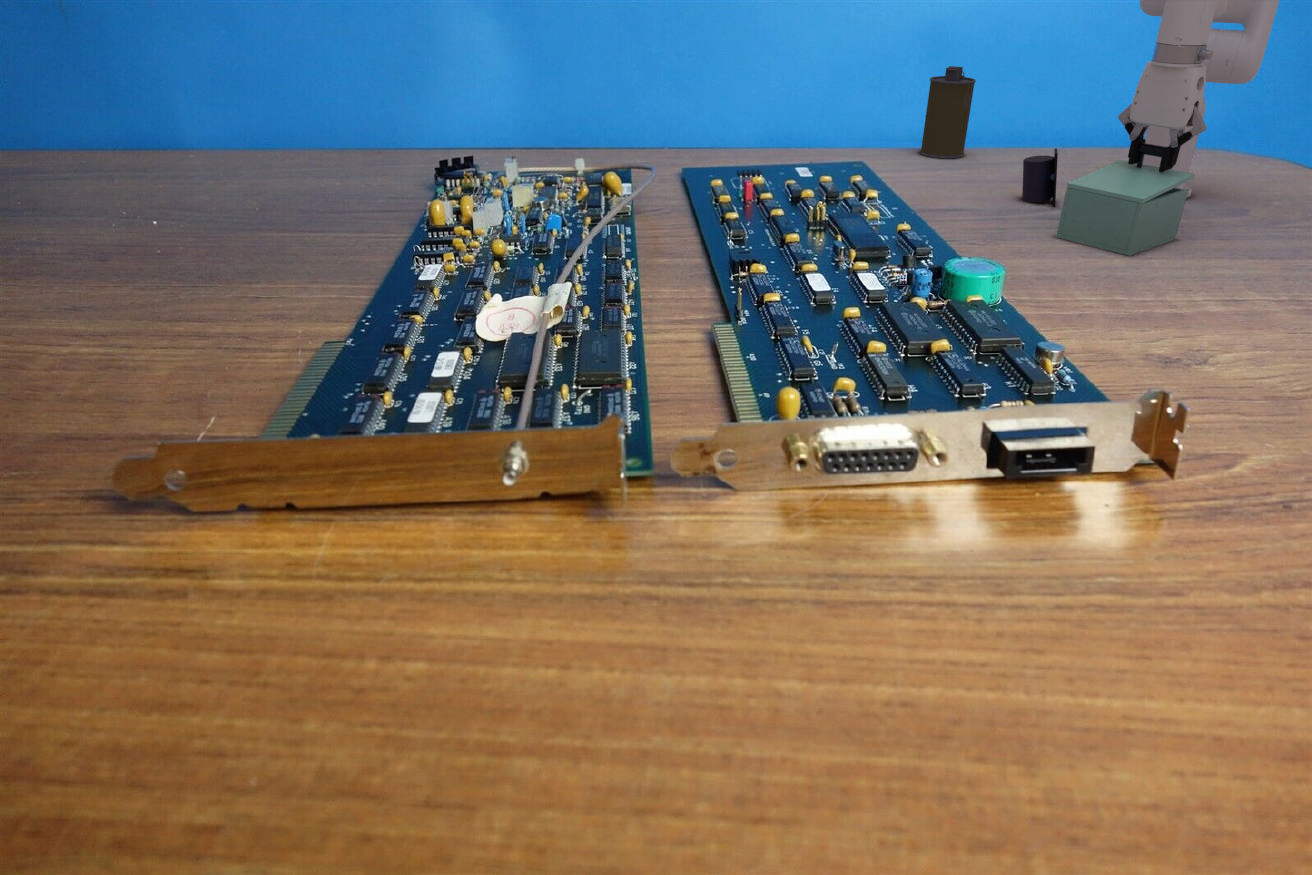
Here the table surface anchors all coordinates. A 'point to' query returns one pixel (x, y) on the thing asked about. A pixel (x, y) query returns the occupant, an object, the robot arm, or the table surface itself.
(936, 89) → the canister
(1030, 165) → the speaker
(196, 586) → the table surface
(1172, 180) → the cool box lid
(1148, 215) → the cool box
